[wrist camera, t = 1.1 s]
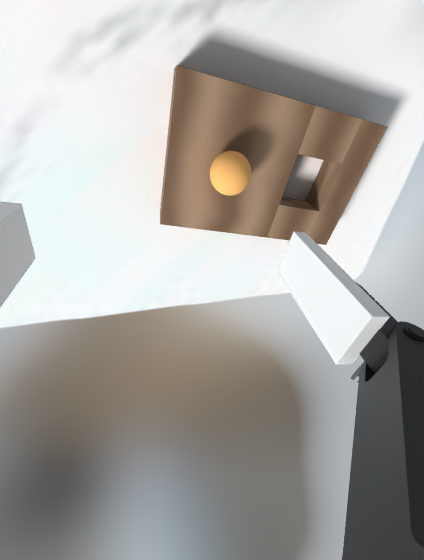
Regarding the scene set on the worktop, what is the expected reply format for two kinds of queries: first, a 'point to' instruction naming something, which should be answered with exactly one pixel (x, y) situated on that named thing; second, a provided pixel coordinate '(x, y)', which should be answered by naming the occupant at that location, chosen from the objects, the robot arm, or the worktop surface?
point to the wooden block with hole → (258, 159)
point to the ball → (230, 173)
